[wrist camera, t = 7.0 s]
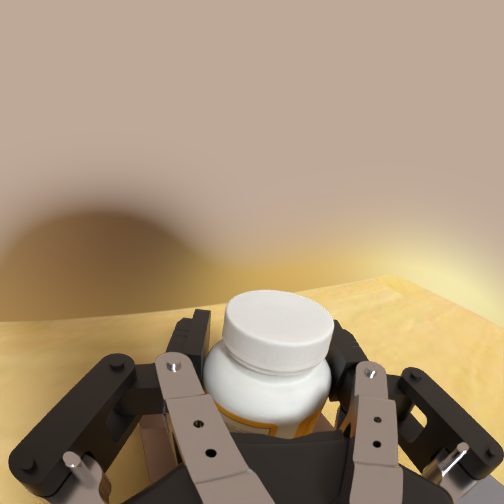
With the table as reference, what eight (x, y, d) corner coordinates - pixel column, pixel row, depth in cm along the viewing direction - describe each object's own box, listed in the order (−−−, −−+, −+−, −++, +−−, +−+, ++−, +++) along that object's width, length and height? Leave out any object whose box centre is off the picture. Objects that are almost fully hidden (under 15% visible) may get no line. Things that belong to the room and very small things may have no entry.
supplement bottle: (209, 496, 9) (214, 364, 6) (196, 422, 14) (197, 281, 11) (309, 478, 11) (381, 344, 8) (279, 415, 15) (313, 282, 13)
